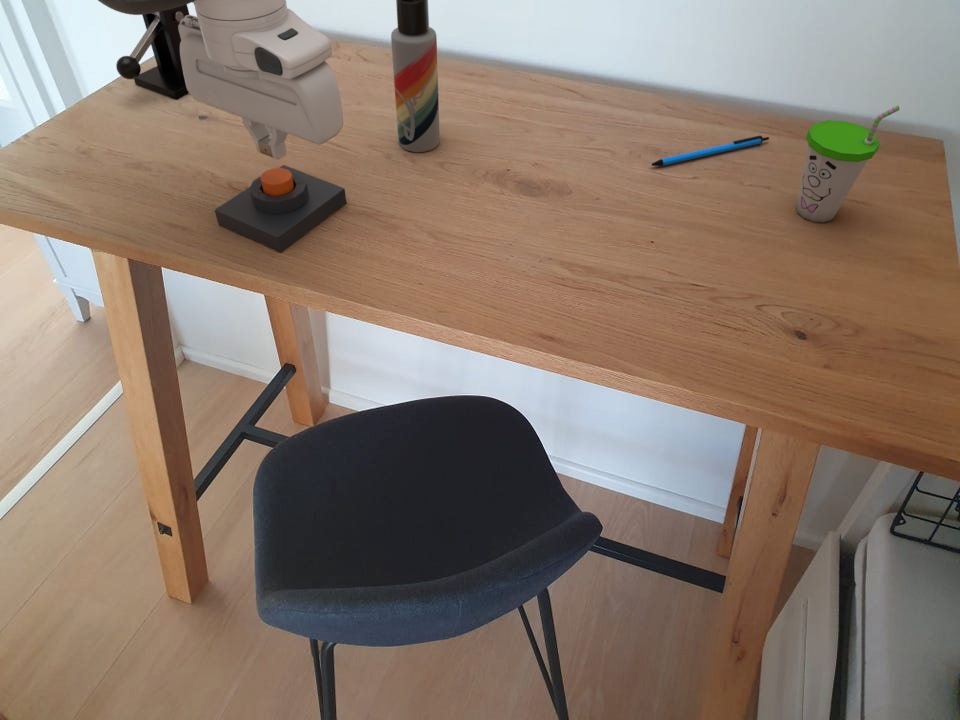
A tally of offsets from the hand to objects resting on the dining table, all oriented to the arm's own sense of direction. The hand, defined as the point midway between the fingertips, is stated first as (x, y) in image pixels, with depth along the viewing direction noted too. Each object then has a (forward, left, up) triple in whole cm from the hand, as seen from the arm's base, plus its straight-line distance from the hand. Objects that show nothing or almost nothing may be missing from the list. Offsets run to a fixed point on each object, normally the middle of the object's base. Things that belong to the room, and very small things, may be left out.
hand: (272, 154), depth 88 cm
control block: (0, 0, -8) cm, 8 cm away
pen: (+42, -39, -8) cm, 58 cm away
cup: (+36, -55, -8) cm, 66 cm away
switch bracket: (+19, +38, -8) cm, 43 cm away
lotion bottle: (+23, -4, -8) cm, 25 cm away
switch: (+15, +38, -2) cm, 41 cm away
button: (0, 0, -5) cm, 5 cm away
